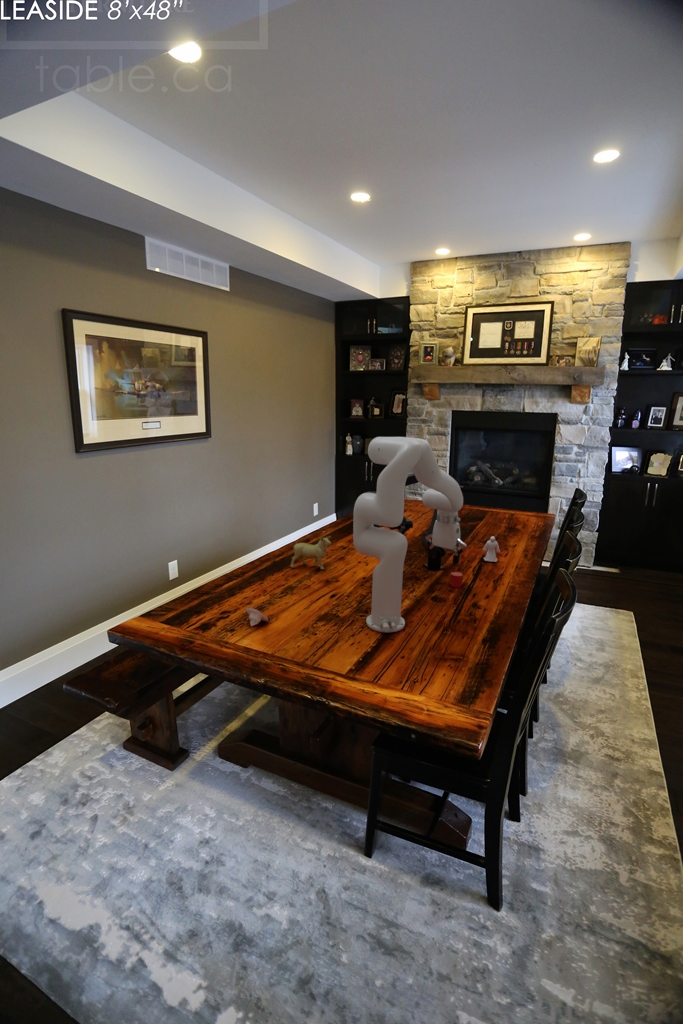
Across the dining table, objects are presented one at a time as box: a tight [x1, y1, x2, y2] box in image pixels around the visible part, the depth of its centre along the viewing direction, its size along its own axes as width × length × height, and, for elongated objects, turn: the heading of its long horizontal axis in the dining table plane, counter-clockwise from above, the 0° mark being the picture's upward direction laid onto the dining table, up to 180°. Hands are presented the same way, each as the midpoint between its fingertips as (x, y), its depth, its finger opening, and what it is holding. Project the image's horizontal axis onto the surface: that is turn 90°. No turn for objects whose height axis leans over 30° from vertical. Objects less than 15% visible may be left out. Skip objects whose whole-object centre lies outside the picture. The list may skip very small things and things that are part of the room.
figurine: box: [482, 535, 501, 563], centre depth 223 cm, size 8×8×12 cm
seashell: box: [245, 607, 269, 627], centre depth 160 cm, size 8×5×8 cm
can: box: [450, 571, 463, 588], centre depth 195 cm, size 4×4×5 cm
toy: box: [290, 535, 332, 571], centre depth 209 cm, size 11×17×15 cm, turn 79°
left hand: (444, 561), depth 193 cm, fingers open, 9 cm apart
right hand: (388, 544), depth 206 cm, fingers open, 9 cm apart
